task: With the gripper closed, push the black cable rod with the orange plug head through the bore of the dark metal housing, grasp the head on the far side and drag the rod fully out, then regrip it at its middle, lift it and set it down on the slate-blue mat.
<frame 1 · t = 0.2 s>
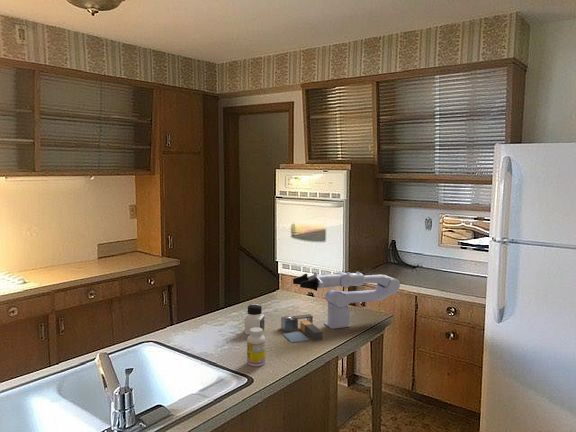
hand: (296, 283, 209), 21 cm above the countertop, tool horizontal, fingers open, 7 cm apart
mat: (296, 337, 204), on the countertop
housing: (302, 327, 217), on the countertop
plug: (306, 330, 212), on the countertop
medicine bottle: (254, 332, 210), on the countertop
supplement bottle: (256, 363, 178), on the countertop
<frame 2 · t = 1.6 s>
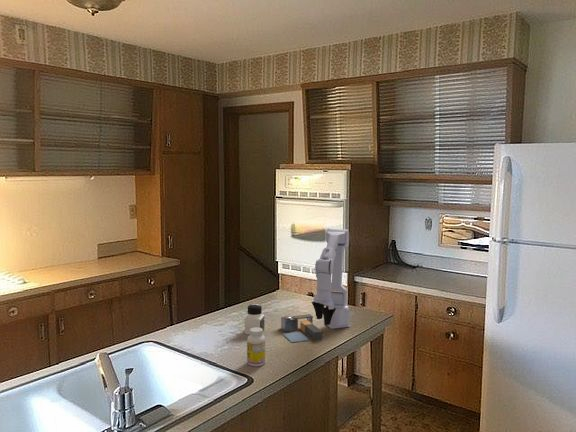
hand: (323, 321, 196), 9 cm above the countertop, tool pointing down, fingers open, 7 cm apart
nothing on the countertop moved.
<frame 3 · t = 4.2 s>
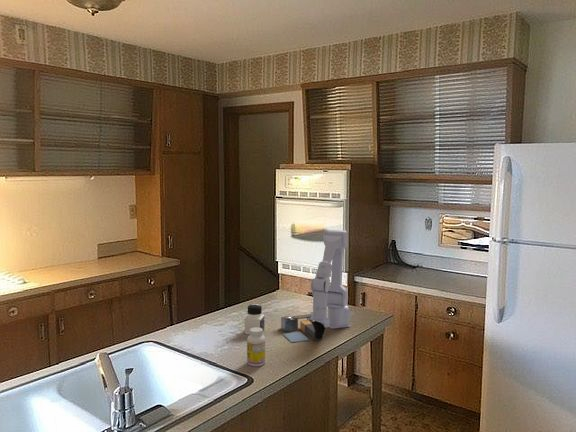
hand: (319, 338, 200), 1 cm above the countertop, tool pointing down, fingers closed
plug: (306, 330, 212), on the countertop, touching gripper
everything else where it was.
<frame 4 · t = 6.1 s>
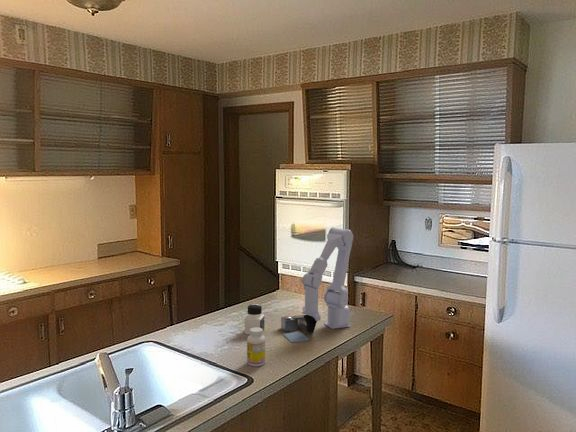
hand: (311, 332, 208), 1 cm above the countertop, tool pointing down, fingers closed
plug: (300, 323, 221), on the countertop, touching gripper
everything else where it was.
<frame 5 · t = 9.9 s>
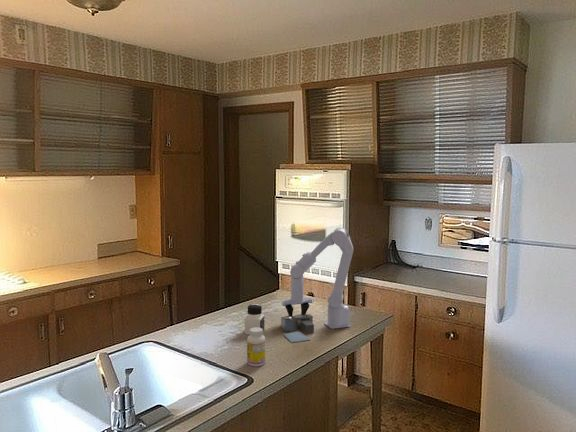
hand: (296, 319, 222), 1 cm above the countertop, tool pointing down, fingers open, 5 cm apart
nothing on the countertop moved.
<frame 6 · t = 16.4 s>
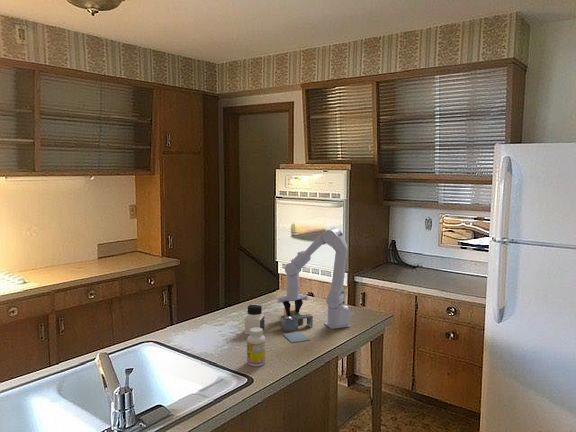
hand: (292, 316, 227), 1 cm above the countertop, tool pointing down, fingers closed on plug, 4 cm apart
plug: (289, 316, 231), on the countertop, touching gripper
everything else where it was.
when the fingers open (3 cm above the countertop, at t = 20.5 s): plug stays where it is, resting on mat.
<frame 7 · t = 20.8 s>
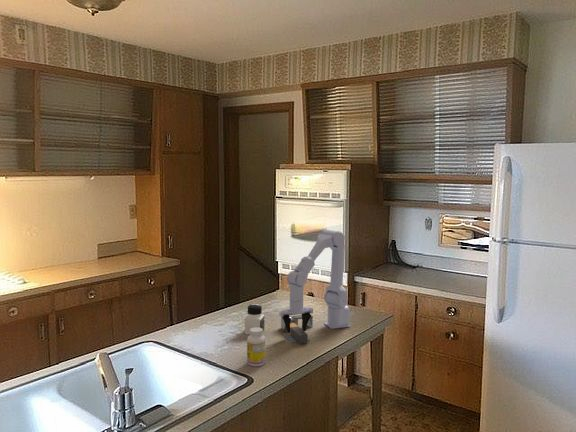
hand: (296, 331, 203), 3 cm above the countertop, tool pointing down, fingers open, 6 cm apart
plug: (292, 333, 208), resting on mat
everything else where it was.
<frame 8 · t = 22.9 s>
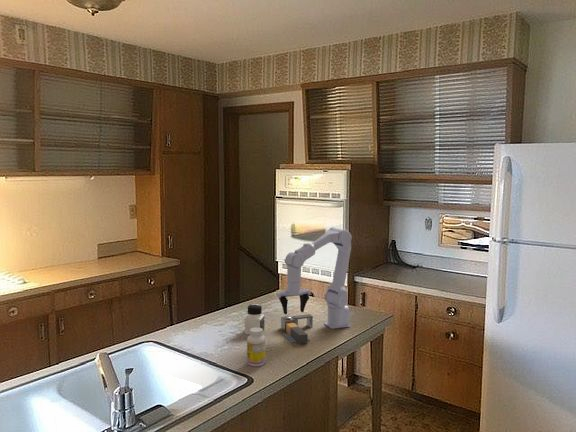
hand: (293, 312, 205), 10 cm above the countertop, tool pointing down, fingers open, 7 cm apart
nothing on the countertop moved.
at the end: plug inside the target area (0.5 cm from its centre), on the countertop; the gripper is holding nothing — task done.
